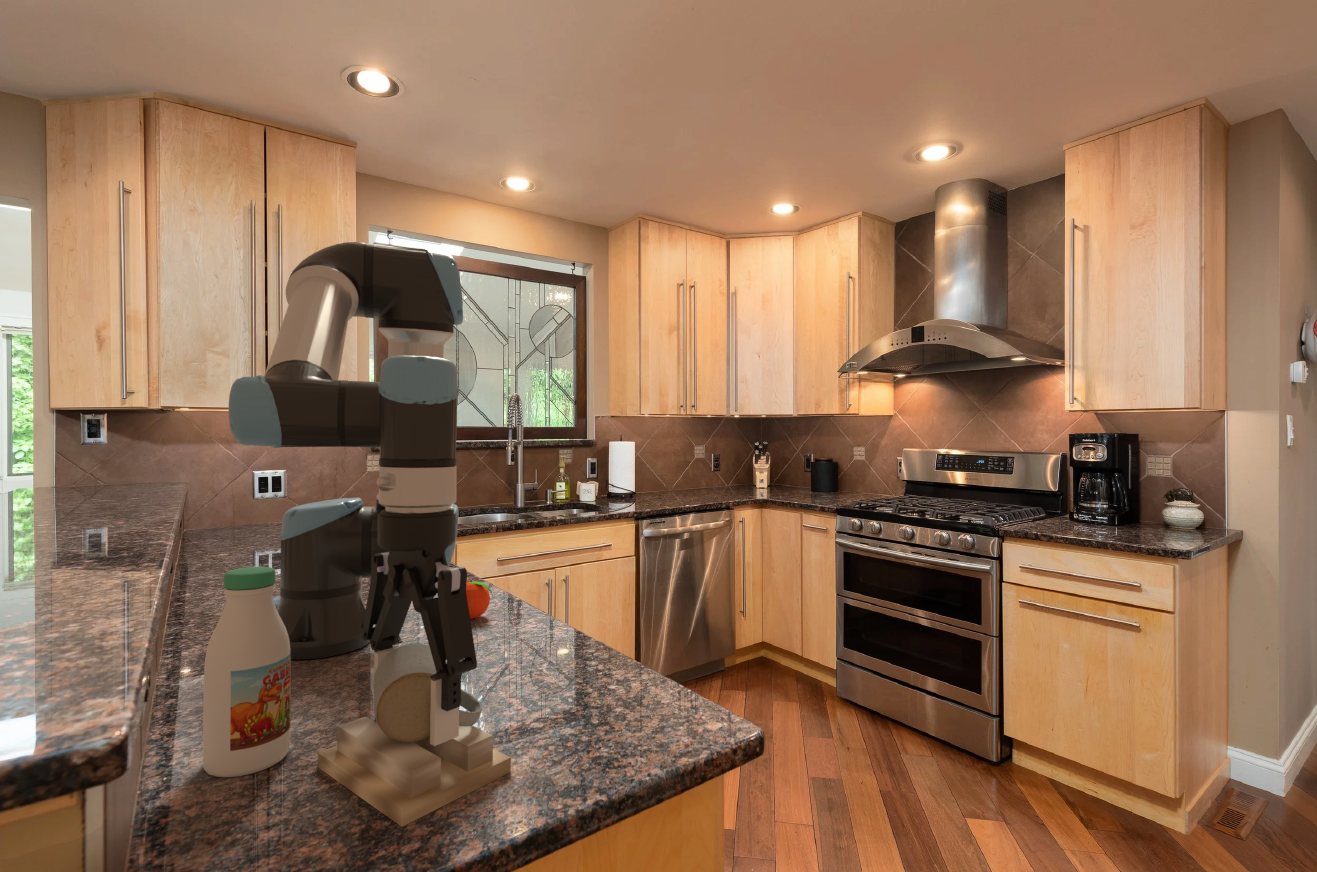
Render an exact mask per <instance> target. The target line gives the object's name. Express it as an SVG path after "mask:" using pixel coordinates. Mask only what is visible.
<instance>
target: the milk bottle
mask: <svg viewBox="0 0 1317 872" xmlns="http://www.w3.org/2000/svg"><path fill="white" fill-rule="evenodd" d="M223 588H224V591H223V593H222V594H224V595H225V596H226V598H225V604H224V608H223V610H222V614H221V616H220V618H219V620H218V622H217V624H216V626H215V628H214V630H213V632H212V634H211V636H210V638H209V640H208V644H207V648H206V651H205V652H206V653H205V657H204V670H203V671H204V673H203V700H202V701H203V703H202V704H203V705H202V707H203V708H202V710H203V711H202V768H203V769H204V771H205V773H207V774H208V775H209V776H211V777H215V778H216V777H217V778H235V777H243V776H246V775H251V774H255V773H258V772H261V771H264V770H266V769H268V768H270V767H273V766H274V765H276V764H279V762H281V761H282V760H283V759H284V758H285V757H286V756H287V753H288V752H289V749H290V743H291V742H290V741H291V696H292V695H291V691H292V690H291V686H292V685H291V684H292V683H291V679H292V678H291V677H292V675H291V674H292V673H291V671H292V670H291V668H292V667H291V665H292V664H291V661H292V659H291V657H290V642H289V637H288V633H287V630H286V627H285V625H284V623H283V621H282V620H281V618H280V616H279V614H278V612H277V609H276V607H275V604H274V600H273V597H274V596H273V592H274V590H275V589H276V570H275V568H273V567H270V566H247V567H239V568H234V569H231V570H228V571H226V572H225V573H224V575H223Z"/></svg>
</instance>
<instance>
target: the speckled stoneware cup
mask: <svg viewBox="0 0 1317 872" xmlns="http://www.w3.org/2000/svg"><path fill="white" fill-rule="evenodd" d="M446 664H447V661H446ZM435 673H437V672H436V668H435V665H434V661H433V658H432V654H431V650H430V647H429V644H428V645H427V644H423V643H408V644H404V645H401V646H399V647H398V648H396V649H394V650H393V651H391V652H390V653H389V654H387V655H386V656H385V657H384V659H383V660H382V661H381V663H380V664H379V666H378V668H377V670H376V672H375V675H374V674H373V686H372V687H373V706H374V713H375V714H374V713H373V714H374V717H375V720H376V721H375V722H376V723H378V725H379V726H380V728H381V730H382V731H383V732H384V733H385V734H386V735H387V736H389V737H390V738H392V739H394V740H396V741H401V742H415V741H419V740H423V739H425V738H427V737H429V736H430V710H431V677H430V676H432V675H433V674H435ZM460 697H461V703H460V707H461V708H463V709H465V710H462V709H459V726H465V727H466V726H474V725H475V724H477V723H478V721H479V718H480V716H481V714H482V711H483V705H482V703H481V702H480V700H478V699H477V697H475V696H473V695H472V694H471V693H469V692H467V691H466V690H464V689H462V688H461V696H460Z"/></svg>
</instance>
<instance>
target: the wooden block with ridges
mask: <svg viewBox="0 0 1317 872" xmlns="http://www.w3.org/2000/svg"><path fill="white" fill-rule="evenodd" d="M336 737H337V739H336V741H337V742H336V745H335V746H332V747H329V748H327V749H323V750H321V751H318V752H317V768H318V769H319V770H321V771H322V772H323V773H325V774H327V775H328V776H329V777H331V778H332V779H333V780H335V781H336V782H338V783H339V784H341V785H342V786H343V787H345V788H346V789H348V790H349V791H351V792H352V793H353V794H354V795H356V796H358V797H359V798H360V799H362V800H363V801H364V802H366V803H367V804H369V805H370V806H371V807H373V808H374V809H376V810H377V811H379V812H380V813H381V814H383V815H385V816H386V817H387V818H389V819H390V820H391V821H393V822H395V823H396V824H397V825H398V826H400V827H401V828H402V827H405V826H407V825H408V824H410V823H412V822H415V821H417V820H419V819H420V818H423V817H424V816H426V815H429V814H430V813H432V812H434V811H436V810H438V809H440V808H443V807H444V806H446V805H449V804H450V803H452V802H455V800H458V799H460V798H462V797H464V796H466V795H468V794H470V793H472V792H473V791H476V790H478V789H480V788H482V787H484V786H486V785H488V784H490V783H492V782H494V781H496V780H498V779H499V778H501V777H503V776H506V775H508V774H509V773H511V772H512V768H511V767H512V765H511V763H512V756H511V757H510V756H509V755H507V754H504V753H503V752H500V751H499V750H497V749H495V748H494V734H491V733H489V732H487V731H484V730H482V729H480V728H478V727H476V726H474V725H472V726H466V727H465V726H459V736H458V737H455V738H453V739H451V740H448V741H446V742H443V743H441V744H439V745H436V746H433V745H431V744H430V736H429V737H427V738H425V739H423V740H419V741H415V742H401V741H396V740H394V739H392V738H390V737H389V736H387V735H386V734H385V733H384V732H383V731H382V730H381V728H380V726H379V725H378V723H377V721H374V720H372V719H371V718H369V717H367V716H363V717H360V718H357V719H354V720H351V721H349V722H346V723H343V724H339V725H337V735H336Z"/></svg>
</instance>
